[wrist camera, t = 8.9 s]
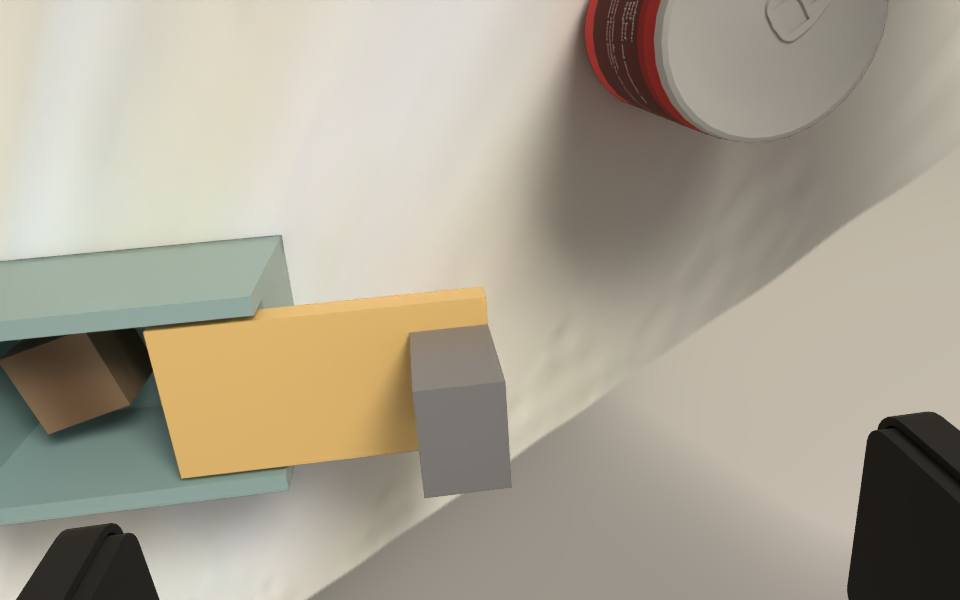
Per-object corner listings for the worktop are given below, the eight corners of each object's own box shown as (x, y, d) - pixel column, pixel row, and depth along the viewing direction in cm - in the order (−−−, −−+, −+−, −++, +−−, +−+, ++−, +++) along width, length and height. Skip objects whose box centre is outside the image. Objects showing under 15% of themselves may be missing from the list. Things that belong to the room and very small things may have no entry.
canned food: (775, -3, 34) (937, -10, 24) (667, 140, 36) (776, 189, 26) (654, -111, 32) (777, -170, 22) (547, 47, 34) (613, 60, 24)
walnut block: (116, 296, 35) (83, 329, 31) (156, 365, 36) (130, 404, 33) (39, 324, 35) (-3, 360, 31) (83, 392, 37) (48, 434, 33)
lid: (482, 286, 30) (503, 349, 25) (491, 426, 33) (512, 514, 27) (152, 320, 29) (93, 394, 23) (188, 462, 32) (143, 561, 26)
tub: (281, 235, 36) (250, 296, 28) (309, 395, 39) (288, 490, 31) (-17, 262, 34) (-136, 334, 27) (38, 425, 38) (-54, 531, 30)
